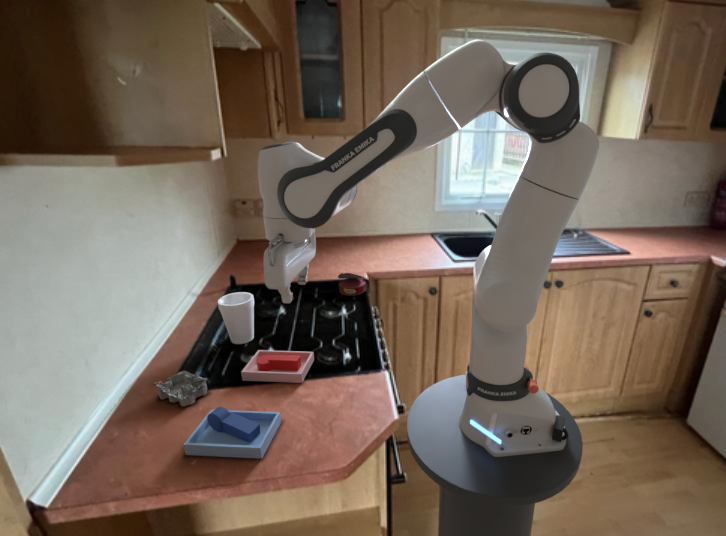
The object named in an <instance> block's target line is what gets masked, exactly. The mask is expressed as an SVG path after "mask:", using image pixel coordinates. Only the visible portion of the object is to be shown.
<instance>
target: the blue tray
mask: <svg viewBox="0 0 726 536" xmlns="http://www.w3.org/2000/svg"><path fill="white" fill-rule="evenodd" d="M214 410H215V409H213V408H212V409H210V410H209V412H207V414H206V415H205V417H204V418H203V419H202V421H200V423H199V424H198V425H197V427H196V428H195V429H194V431H193V432H192V433H191V435H189V437H188V438H187V439H186V441H184V443H183V448H184V453H185V455H186V456H197V457H198V456H199V457H221V458H239V459H240V458H241V459H242V458H243V459H261V460H262V459H263V458H264V455H265V454H266V452H267V450H268V448H269V446H270V444H271V442H272V441H273V438H274V437H275V435H276V433H277V431H278V430H279V427H280V425H281V424H282V416H281V415H282V414H281V412H280V411H259V410H257V411H255V410H235V409H234V410H233V409H227V410H228V411H229V412H233V413H235V414H238V415H240V416H242V417H244V418H247V419H249V420H251V421H253V422H256V423H258V424H260V434H259V435H258V436H257V437H256V438H255V439H254V440H252V441H251V442H250V443H249V442H246V441H244V440H242V439H240V438H238V437H236V436H234V435H231V434H229V433H227V432H225V431H221V432H218V431H216V430H214V429H213V428H212V427H211V426H210V425H209V423H208V420H207V417H208V415H209V414H210V413H211V412H213V411H214Z"/></svg>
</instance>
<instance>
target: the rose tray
mask: <svg viewBox="0 0 726 536" xmlns="http://www.w3.org/2000/svg"><path fill="white" fill-rule="evenodd" d="M263 355H292V356H300V359H301V367H300V369H299V370H298V371H289V370H270V371H267V372H266V371H259V370H258V368H257V362H256V360H257V358H259V357H260V356H263ZM314 362H315V353H314V351H301V350H300V351H298V350H297V351H296V350H295V351H294V350H272V349H271V350H269V349H268V350H267V349H257V351H256V352H255V354H254V355H253V356H252V357H251V359H249V361H248V362H247V363H246V365H245V366H244V367H243V368H242V370H241V371H240V374H241V380H242V381H243V382H269V383H272V382H273V383H293V384H294V383H295V384H302V383H303V382H304V380H305V379H306V376H307V375H308V373H309V371H310V369H311V367H312V366H313V363H314Z"/></svg>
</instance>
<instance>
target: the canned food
mask: <svg viewBox="0 0 726 536" xmlns="http://www.w3.org/2000/svg"><path fill="white" fill-rule="evenodd" d="M337 279H342V280H340V281H339V282H338V289H339V291H338V292H339V293H340V294H342V295H344V296H357V295H361V294H363V293H364V292H366V290H367V288H366V281H365V280H364V279H365V277H364V276H362V275H359V274H355V273H350V272H343V273H342V272H341V273H340V274H338V275H337Z"/></svg>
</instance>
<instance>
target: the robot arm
mask: <svg viewBox="0 0 726 536" xmlns="http://www.w3.org/2000/svg"><path fill="white" fill-rule="evenodd" d="M579 82H580V81H579V78H578V74H577V72H576V69H575V68H574V66H573V65H572V64H571V63H570V61H569V60H568V59H566V58H565V57H564V56H561V55H560V54H556V53H553V52H546V51H545V52H537V53H534V54H530V55H529V56H526V57H525V58H522V59H521V60H520V61H519V62H518V63H517V64H511V63H508V62H507V61H506V60H505V59H503V57H502V55H501V53H500V52H499V51H498V49H497V48H496V47H495V46H494V45H493V44H491V43H490V42H488V41H486V40H483V39H472V40H470V41H468V42H466V43H464V44H462V45H460V46H458V47H456V48H455V49H453V50H451V51H449V52H448V53H447V54H445V55H444V56H442V57H440V58H438V60H436V61H435V62H433V63H432V64H430V65H429V66H428V67H426V68H425V69H424V70H423V71H421V72H420V73H419V74H418V75H416V77H414V78H413V79H412V80H411V81H410V82H409V83H408V84H407V85H406V86H405V87H404V88H403V89H401V91H400V92H399V93H398V94H397V95H396V96H395V97H394V98H393V100H391V101H390V103H389V104H388V105H387V106H386V107H385V108H383V110H382V111H381V112H380V113H379V114H378V115H377V116H376V117H375V118H374V119H373V120H372V122H371V123H369V124H368V125H367V126H366V127H365V128H363V129H362V130H361V131H360V132H358V133H357V134H356V135H354V136H353V137H352V138H350V139H349V140H347V142H345V143H344V144H343V145H341V146H340V147H338V148H336V150H334V151H333V152H331V154H329V155H328V156H326V157H323V156H321V155H318V154H316V153H314V152H312V151H310V150H308V149H307V148H305V147H304V146H303V145H302V144H301V143H299V142H297V141H285V142H279V143H274V144H270V145H269V144H268V145H266V146H264V147H262V148H261V149H260V150H259V152H258V155H257V180H258V188H259V194H260V197H261V198H262V202H263V209H262V217H263V226H264V231H265V238H266V240H268V241H269V242H268V246H267V247H266V248H265V250H264V253H263V274H264V276H263V277H264V285H265V287H266V288H267V289H269V290H277V291H278V292H279V294H280V296H281V302H282V303H283V304H291V303H292V301H294V293H293V292H292V291H291V289H290V288H291V283H292V282H293V281H294V280H295V279H296V278H297V284H298V285H301V286H305V285H306V284H307V283H308V282H309V277H308V275H309V267H310V265H309V264H310V262H311V261H312V260H313V259H314V258H315V256H316V252H317V238H316V229H317V228H320V227H322V226H323V225H325V224H326V223H327V222H328V221H330V220H331V219H332V217H334V216H336V215H337V214H338V213H340V212H341V211H343V210H344V209H346V208H347V207H348V206H349V205H351V203H352V202H353V201H354V200H355V199H356V197H357V194H358V193H357V192H358V185H359V184H361V183H363V182H364V181H365V180H366V179H368V178H369V177H371V176H372V175H373V174H375V173H377V172H378V171H379V170H380V169H382V168H383V167H385V166H386V165H388V164H389V163H391V162H392V163H393V162H394V161H396V160H398V159H401V158H403V157H405V156H408V155H412V154H415V153H418V152H421V151H423V150H427V149H429V148H430V147H433V146H435V145H437V144H439V143H440V142H443V141H445V140H446V139H448V138H450V137H451V136H453V135H454V134H456V133H457V132H458V131H460V130H461V129H463V128H464V127H465V126H467V125H468V124H470V123H471V122H472V121H474V120H475V119H476V118H479V117H480V116H482V115H484V114H486V113H489V112H495V113H496V114H497V115H498V116H499V117H500V118H502V119H503V120H504V121H505V122H506V123H507V124H508V125H510V126H511V127H512V128H514V129H516V130H518V131H520V132H523V133H526V136H527V138H528V143H529V145H528V150H527V151H528V152H527V155H526V157H525V161H524V163H523V164H522V167H521V168H520V171H519V173H518V176H517V178H516V180H515V182H514V185H513V187H512V189H511V191H510V193H509V195H508V198H507V201H506V203H505V205H504V207H503V210H502V212H501V214H500V217H499V220H498V223H497V227H496V230H495V233H494V237H493V239H492V242H491V244H490V245H488V246H487V247H485V248H484V249H482V251H481V252H480V253H479V255H478V257H477V258H476V260H475V262H474V265H473V276H472V298H471V300H472V301H471V325H470V346H469V362H468V364H467V367H466V372H465V375H466V391H467V394H466V399H465V403H464V407H463V410H462V412H461V414H460V417H459V425H460V428H461V430H462V432H463V433H464V434H465V435H466V436H467V437H468V438H469V439H470V440H472V441H473V442H475V443H477V444H479V445H481V446H482V447H484V448H485V449H486V450H487V451H488V452H489V453H490V454H491V455H492V456H494V457H504V456H513V455H522V454H532V453H541V452H551V451H560V450H563V449H564V447H565V445H566V439H567V438H568V432H567V430H566V429H565V426H564V424H565V417H563V416H560V415H559V414H558V412H557V411H556V410H555V409H554V406H553V404H552V401H551V399H550V398H549V396H548V395H547V393H548V392H547V391H545V390H544V389H542V388H541V387H539V385H538V382H537V381H536V380H534V375H533V373H532V372H531V371H530V368H529V366H528V364H526V352H527V344H528V325H529V324H530V323H531V321H533V319H534V317H535V316H536V313H537V308H538V304H539V300H540V296H541V292H542V289H543V287H544V285H545V282H546V279H547V277H548V274H549V271H550V267H551V264H552V261H553V258H554V254H555V252H556V250H557V246H558V244H559V241H560V238H561V237H562V235H563V232H564V231H565V229H566V227H567V225H568V222H569V221H570V219H571V217H572V215H573V213H574V211H575V209H576V208H577V205H578V203H579V201H580V199H581V198H582V195H583V192H584V190H585V189H586V186H587V184H588V181H589V179H590V177H591V174H592V172H593V170H594V169H593V168H594V166H595V163H596V160H597V156H598V152H599V148H600V140H599V137H598V135H597V134H596V132H595V131H594V130H593V129H592V127H590V126H589V125H588V124H586V123H585V122H582V121H581V107H580V106H581V105H580V83H579Z"/></svg>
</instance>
